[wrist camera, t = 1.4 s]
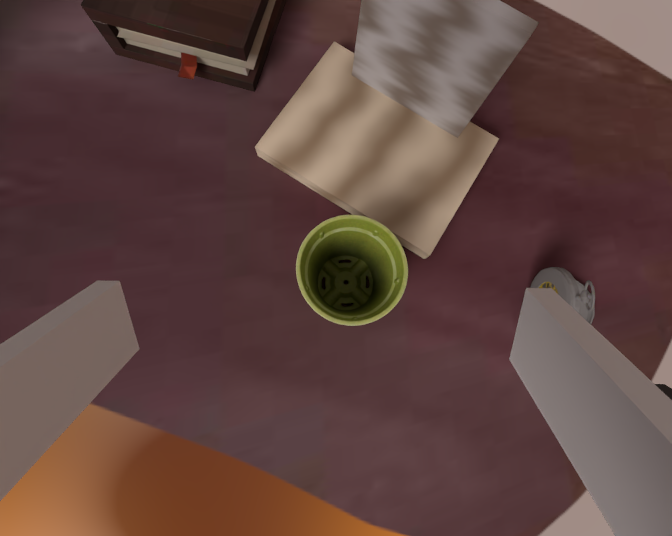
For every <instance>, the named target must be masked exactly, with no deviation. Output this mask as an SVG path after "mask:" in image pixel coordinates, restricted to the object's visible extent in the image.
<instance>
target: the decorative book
mask: <svg viewBox="0 0 672 536" xmlns="http://www.w3.org/2000/svg"><path fill="white" fill-rule="evenodd" d="M285 3H286V0H83V2H82V4H81V6H82V8H83V9H84V10H85V12H86V13H87V15H88V16H89V17H90V19H91V20H92V21H93V23H94V24H95V26H96V27H97V28H98V30H99V31H100V33H101V34H102V35H103V37H104V38H105V40H106V41H107V42H108V44H109V45H110V47H111V48H112V49H113V51H114V52H115V53H116V54H117V55H120V56H124V57H128V58H132V59H135V60H139V61H143V62H146V63H150V64H154V65H158V66H161V67H165V68H169V69H172V70H176V71H179V74H178V77H183V78H188V79H193V78H194V75H195V76H198V77H202V78H206V79H210V80H213V81H217V82H221V83H224V84H228V85H232V86H236V87H239V88H243V89H247V90H250V91H254V92H255V89H256V86H257V83H258V80H259V77H260V74H261V72H262V69H263V66H264V63H265V60H266V57H267V54H268V51H269V49H270V46H271V43H272V40H273V37H274V34H275V31H276V28H277V26H278V23H279V20H280V17H281V14H282V11H283V8H284V6H285Z"/></svg>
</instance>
